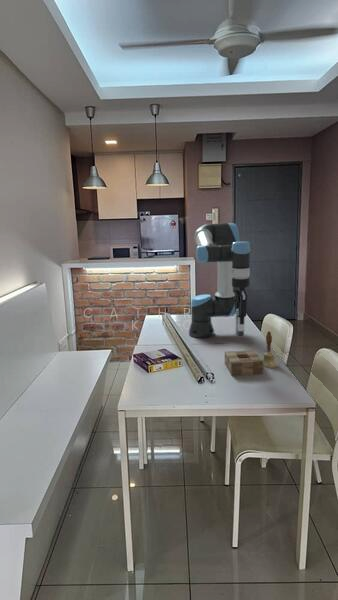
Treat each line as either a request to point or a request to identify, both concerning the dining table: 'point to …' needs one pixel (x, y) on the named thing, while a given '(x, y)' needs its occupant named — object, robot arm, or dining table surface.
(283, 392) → the dining table surface
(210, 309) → the robot arm
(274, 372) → the dining table surface
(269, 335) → the hand bell
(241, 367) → the socket
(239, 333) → the peg
